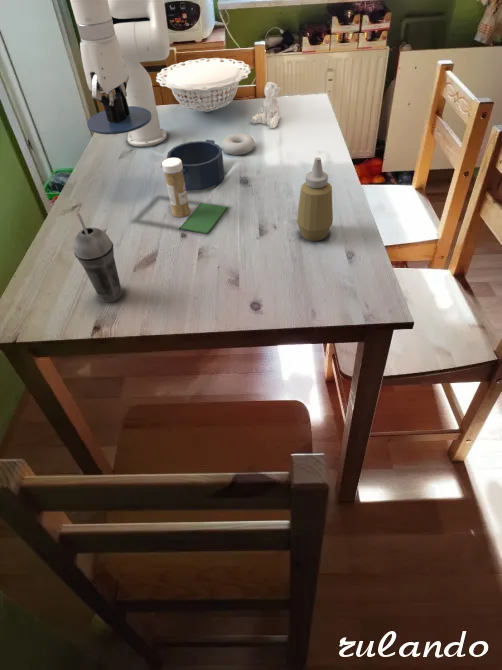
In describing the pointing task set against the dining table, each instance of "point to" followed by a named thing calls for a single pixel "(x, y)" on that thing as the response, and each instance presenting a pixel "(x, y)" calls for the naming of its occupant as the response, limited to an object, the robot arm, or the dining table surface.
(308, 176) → the squeeze bottle
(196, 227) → the green flat rectangular board
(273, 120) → the seated beast figurine
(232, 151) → the donut
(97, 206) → the dining table surface
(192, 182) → the pot
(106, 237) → the beverage cup
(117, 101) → the lid
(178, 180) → the sprinkles bottle
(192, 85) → the white wicker basket
